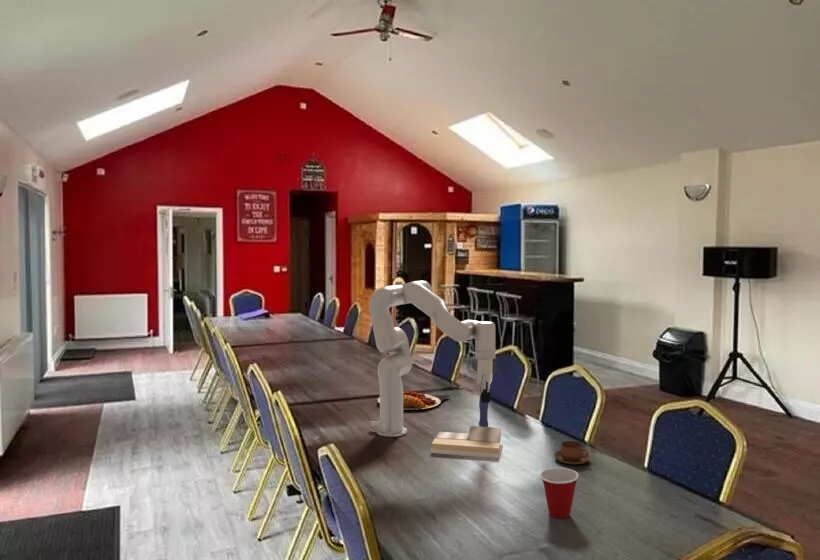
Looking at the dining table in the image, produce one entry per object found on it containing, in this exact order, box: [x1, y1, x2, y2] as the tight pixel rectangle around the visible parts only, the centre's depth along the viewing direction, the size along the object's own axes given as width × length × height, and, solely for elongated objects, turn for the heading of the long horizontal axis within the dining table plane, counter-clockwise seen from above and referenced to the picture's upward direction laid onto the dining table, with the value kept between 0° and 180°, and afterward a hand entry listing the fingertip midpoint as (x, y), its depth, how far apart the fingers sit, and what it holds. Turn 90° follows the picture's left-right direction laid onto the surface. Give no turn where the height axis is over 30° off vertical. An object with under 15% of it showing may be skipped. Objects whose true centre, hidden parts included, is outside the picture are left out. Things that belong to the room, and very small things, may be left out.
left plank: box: [435, 431, 469, 440], centre depth 238 cm, size 12×7×2 cm, turn 77°
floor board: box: [430, 437, 503, 459], centre depth 234 cm, size 25×14×4 cm, turn 77°
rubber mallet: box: [470, 356, 498, 427], centre depth 259 cm, size 12×8×30 cm, turn 16°
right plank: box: [468, 425, 502, 443], centre depth 235 cm, size 12×7×2 cm
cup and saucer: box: [554, 440, 590, 465], centre depth 221 cm, size 12×12×6 cm
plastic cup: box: [539, 467, 579, 519], centre depth 178 cm, size 11×11×12 cm
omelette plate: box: [377, 390, 451, 411], centre depth 301 cm, size 31×35×7 cm
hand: (485, 402), depth 236 cm, fingers closed
